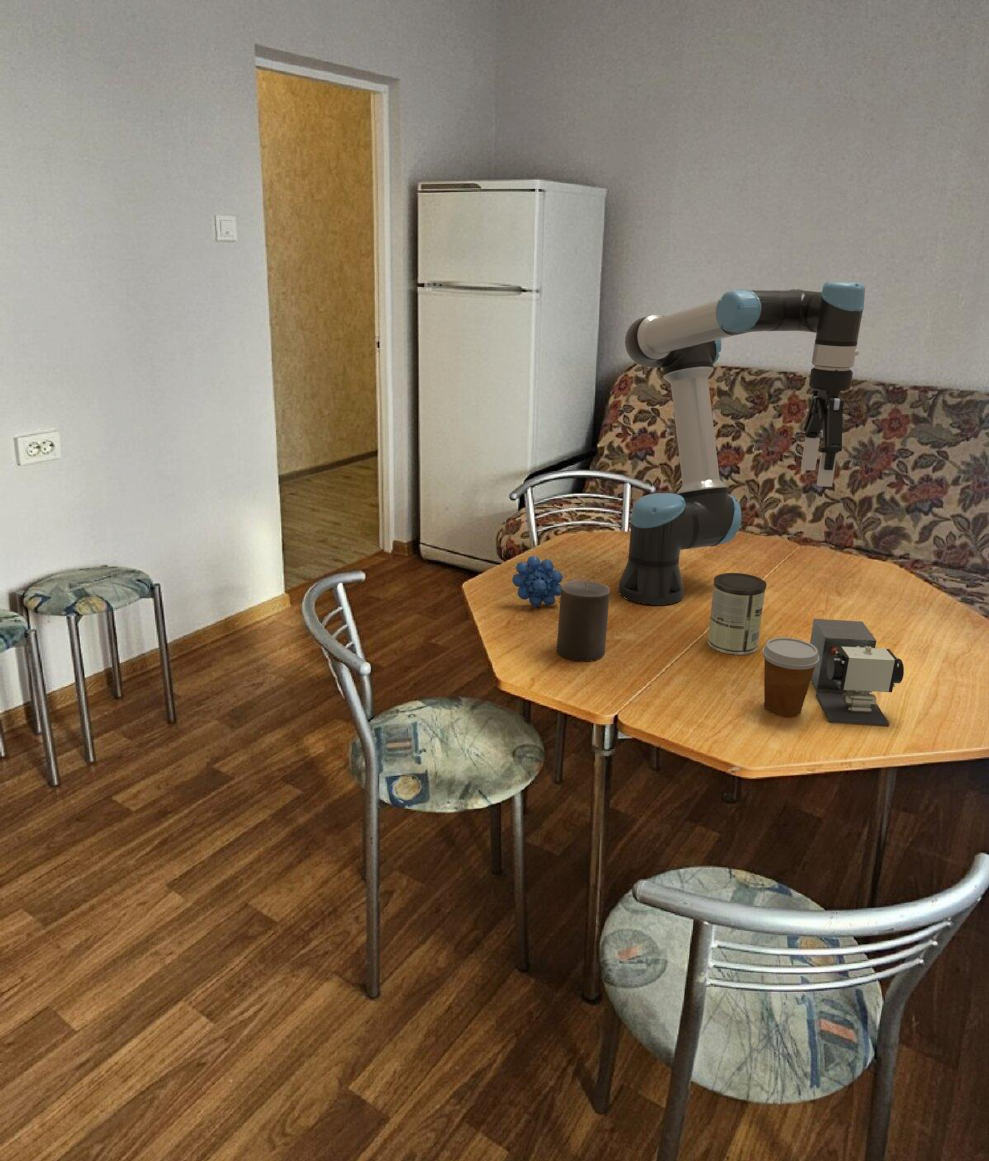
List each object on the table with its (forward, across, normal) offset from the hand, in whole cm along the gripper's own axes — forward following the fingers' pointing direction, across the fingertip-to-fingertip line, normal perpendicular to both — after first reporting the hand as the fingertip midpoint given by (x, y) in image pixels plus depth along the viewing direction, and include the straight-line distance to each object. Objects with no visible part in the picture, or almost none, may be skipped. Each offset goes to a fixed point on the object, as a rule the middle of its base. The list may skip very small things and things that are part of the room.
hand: (815, 477), depth 178 cm
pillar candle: (+35, -13, +44) cm, 58 cm away
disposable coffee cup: (+35, -32, +8) cm, 48 cm away
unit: (+35, -20, -4) cm, 40 cm away
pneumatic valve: (+34, -31, -5) cm, 46 cm away
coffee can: (+35, -5, +13) cm, 38 cm away
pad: (+35, -31, -4) cm, 47 cm away
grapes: (+35, +9, +54) cm, 65 cm away
